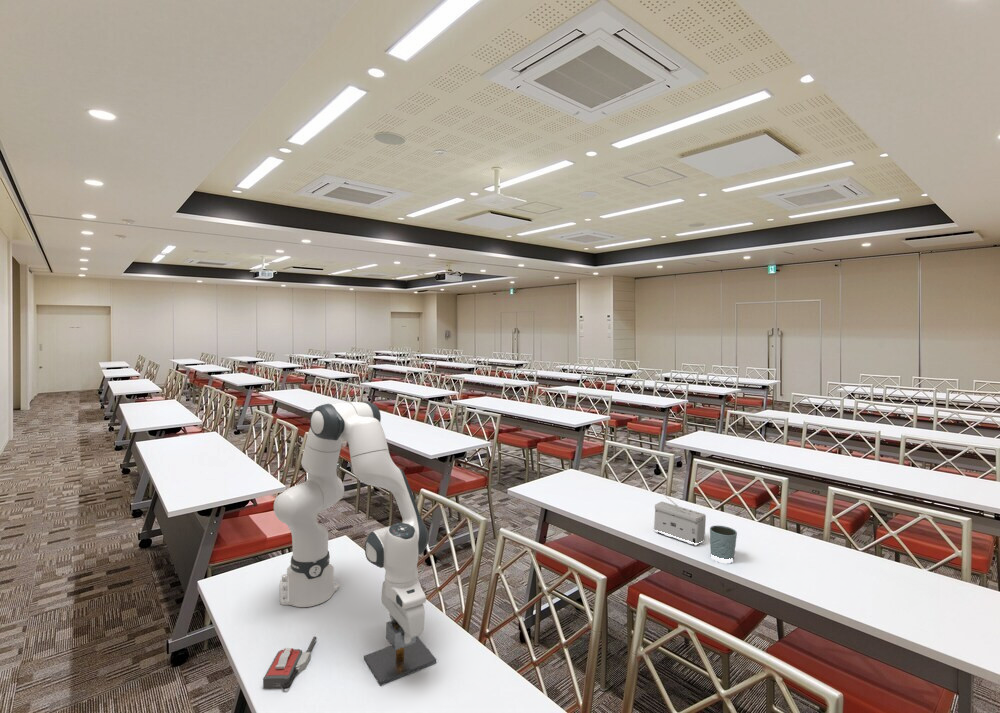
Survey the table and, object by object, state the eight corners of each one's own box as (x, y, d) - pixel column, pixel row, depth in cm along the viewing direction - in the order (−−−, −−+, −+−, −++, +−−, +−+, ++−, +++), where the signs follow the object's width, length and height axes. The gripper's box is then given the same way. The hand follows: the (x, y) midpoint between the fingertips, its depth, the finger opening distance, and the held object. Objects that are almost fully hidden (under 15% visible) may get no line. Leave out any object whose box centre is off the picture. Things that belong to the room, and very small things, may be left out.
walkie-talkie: (295, 692, 124) (319, 641, 144) (295, 675, 124) (319, 626, 144) (259, 694, 123) (287, 642, 143) (259, 676, 123) (287, 627, 143)
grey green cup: (722, 566, 196) (724, 536, 195) (702, 555, 205) (704, 527, 204) (741, 562, 200) (742, 533, 199) (720, 551, 209) (722, 523, 208)
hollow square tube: (386, 638, 136) (386, 622, 136) (406, 631, 140) (406, 615, 140) (394, 650, 132) (395, 634, 131) (415, 642, 135) (415, 626, 135)
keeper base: (363, 659, 136) (363, 631, 136) (417, 639, 146) (417, 612, 145) (380, 686, 127) (380, 655, 126) (436, 662, 136) (436, 634, 135)
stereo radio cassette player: (705, 543, 217) (707, 498, 215) (696, 548, 211) (699, 502, 210) (660, 528, 232) (662, 485, 230) (651, 532, 226) (653, 489, 225)
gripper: (376, 572, 141) (375, 619, 142) (406, 607, 125) (405, 660, 126) (396, 566, 145) (396, 612, 146) (429, 599, 128) (428, 651, 129)
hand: (401, 634), depth 136 cm, fingers closed on hollow square tube, 6 cm apart
